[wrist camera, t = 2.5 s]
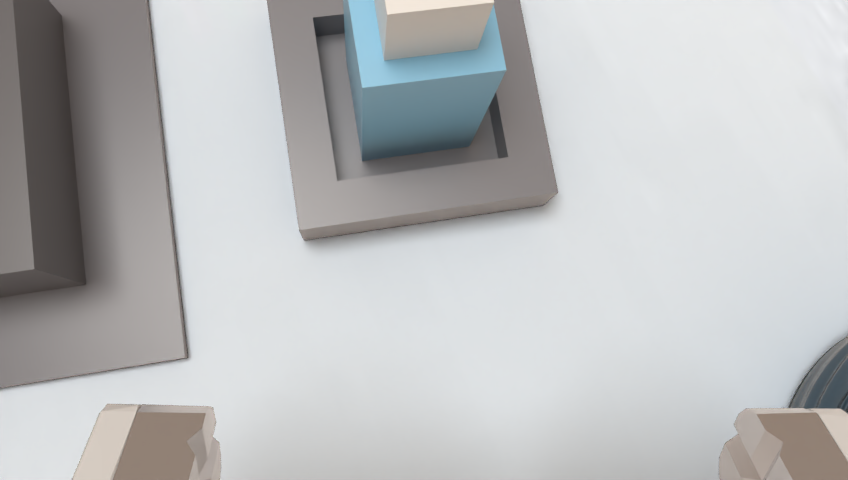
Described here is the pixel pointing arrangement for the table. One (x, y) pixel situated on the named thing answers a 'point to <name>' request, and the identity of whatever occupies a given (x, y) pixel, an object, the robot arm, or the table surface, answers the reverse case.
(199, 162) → the table surface
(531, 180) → the grey square tray
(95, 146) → the port
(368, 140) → the plug
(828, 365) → the canister
